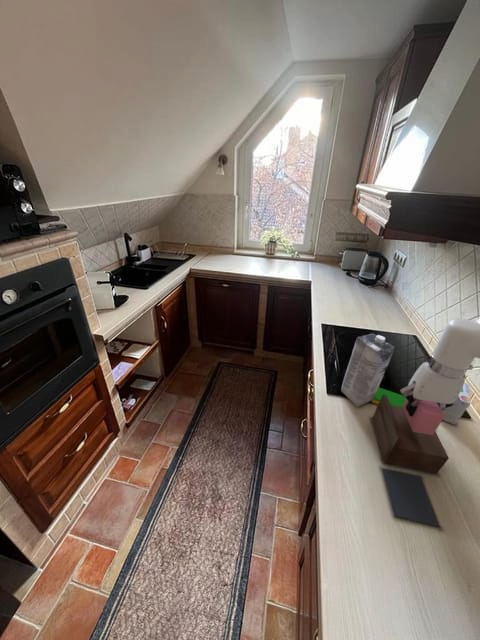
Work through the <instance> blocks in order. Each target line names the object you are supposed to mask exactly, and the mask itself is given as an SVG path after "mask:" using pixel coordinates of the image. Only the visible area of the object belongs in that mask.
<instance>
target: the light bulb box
mask: <svg viewBox="0 0 480 640" xmlns="http://www.w3.org/2000/svg"><path fill="white" fill-rule="evenodd" d="M470 391H471V389H470V385H469V384H467V383H464V385H463V388H462V390H461V392H460V394H459V398H460V400H461V401H462V402H461V403H459V404H455V405H454V404H453V405H452V406H450V407H447V408H445V410H444V411H442V412H443V414H444V418H443V419H442V421H445V422H447V423H450V424H451V425H457V423H458V421H459V420H460V419H461V417H462V416H463V415H464V414H465V412H466V410H467V409H468V408H469V406H470V405H471V404H472V402H471V401H472V400H471V392H470Z"/></svg>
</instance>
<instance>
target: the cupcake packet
mask: <svg viewBox="0 0 480 640" xmlns="http://www.w3.org/2000/svg"><path fill="white" fill-rule="evenodd" d="M412 393H413V391H412V392H410V393H409V394H410V395H411V394H412ZM414 399H415V398H414ZM407 403H408V400H407V398H406V401H405V403H404V405H403V409H404V412H405V414H406V416H407V419H408V421H409V424H410V426H411V428H412V431H413V432H417V433H423V434H428V435H433V434H434V432H435V431H436V430H437V429H438V428H439V426H440V424H441V423H442V421H443V418H444V414H443V412H442V411H441V409H440V407H439V405H438V404H437V402H430V401H424V400H421V401H420V402H419V403H418V404H417V405H416V406H417V409H416V411H415V413H414V415H413V416H409V413H408V411H407V410H406V405H407Z"/></svg>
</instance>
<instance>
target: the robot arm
mask: <svg viewBox="0 0 480 640" xmlns="http://www.w3.org/2000/svg"><path fill="white" fill-rule="evenodd" d="M475 358H476V359H480V317H479V318H478V319H476V320H475V321H474V320H472V319H466V318H453V319H450V320H449V321H448V322H447V323H446V325H445V327H444V329H443V331H442V333H441V335H440V337H439V339H438V341H437V343H436V345H435V347H434V349H433V352H432V353H431V355H430V357H429V359H428V360H427V361H424V362H423V363H422V364H421V365H420V366H419V367H418V368H417V370H416V371H415V372H414V373H413V376H411V379H410V380H409V382H408V384H407V386H405V387H402V388H401V389H400V390H399V392H400V395H402V396H404V397H406V398H407V400H408V403H407V405H406V410H407V411H408V413H409V416H413V415H414V413H415V411H416V409H417V406H416V405H417V404H418V403H419V402H420V401H421V400H424V401H430V402H437V404H438V405H439V407H440V409H441V411H444V410H445V408H447V407H450V406H452V405H453V404H454V405H455V404H459V403H461V402H462V401H461V400H460V398H459V394H460V392H461V390H462V388H463V385H464V384H465V381H466V373H467V371H468V370H469V371H473V369H474V367H473V366H474V365H473V362H474V360H475ZM412 391H413V393H412V394H411V395H410V394H409V393H410V392H412ZM414 398H415V399H414Z"/></svg>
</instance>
